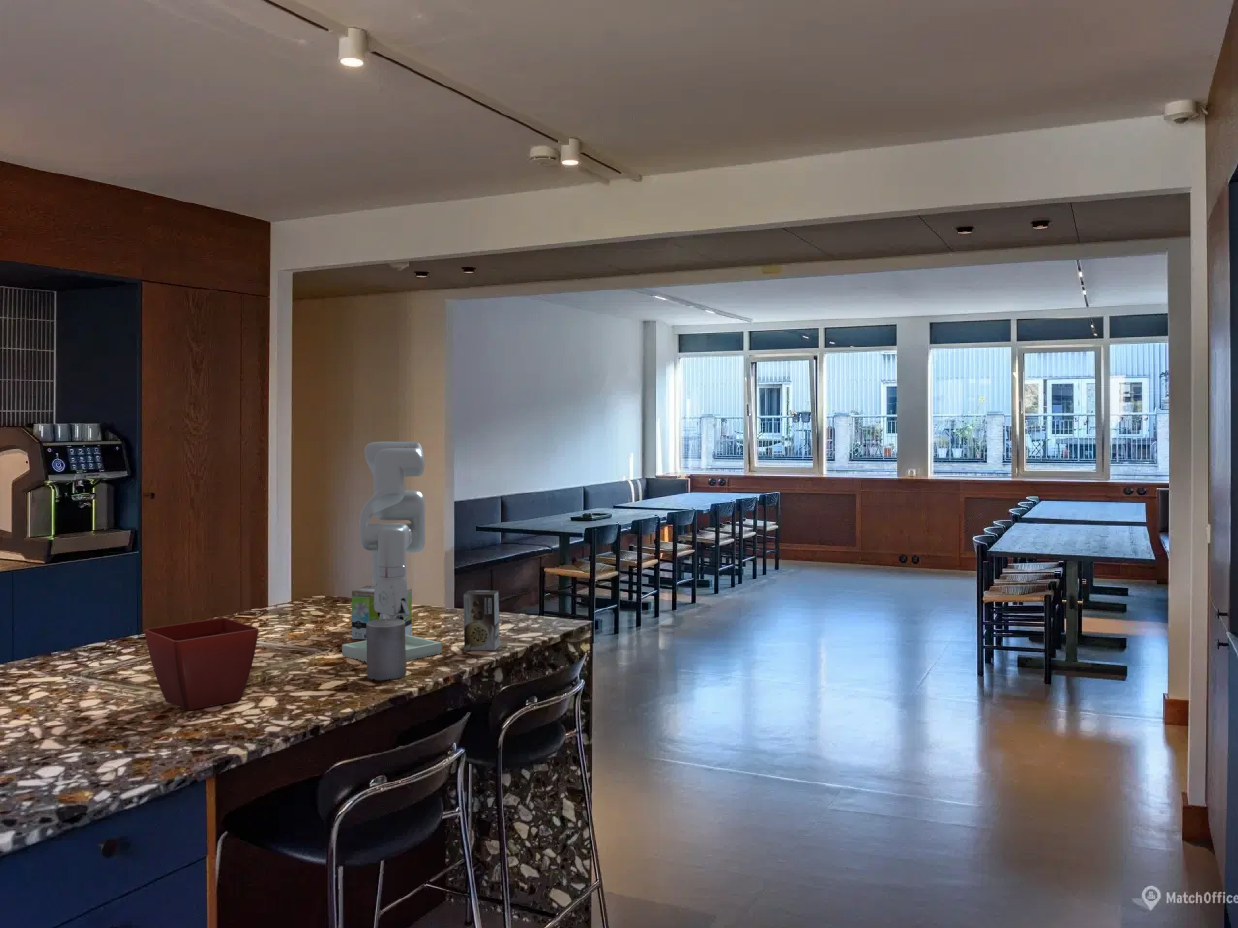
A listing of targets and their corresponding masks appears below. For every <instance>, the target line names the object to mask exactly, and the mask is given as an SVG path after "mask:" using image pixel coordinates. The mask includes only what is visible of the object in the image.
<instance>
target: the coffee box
mask: <svg viewBox="0 0 1238 928" xmlns="http://www.w3.org/2000/svg"><path fill="white" fill-rule="evenodd" d="M463 632H464V633H463V636H464V637H463V640H464V647H463V648H464V649H463V650H464V651H496V650H497V649H499V648H500V590H485V589H483V590H480V589H478V590H476V589H475V590H474V589H470V590H469V589H468V591H466V592H465V593H464V594H463Z"/></svg>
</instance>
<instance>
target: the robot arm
mask: <svg viewBox="0 0 1238 928" xmlns="http://www.w3.org/2000/svg"><path fill="white" fill-rule="evenodd" d="M364 458H365V462H366V464H367V466H368V468H369V469H370V472H371V475H372V479H373V481H372V482H373V483H372V484H373V488H372V489H373V490H372V491H373V493H372V494H373V495H372V496H371V497H370V498H369V499H368V500H367V501H366V502H365V504H364V505H363V507H362V509H361V511H360V513H359V519H358V520H359V523H358V525H359V526H358V531H359V533H358V535H359V536H358V539H359V544H360V547H361V548H362V550H364V551H368V552H370V554H371V555H370V556H371V574H372V575H371V586H375V593H374V610H375V611H376V612H377V614H378V616H379V619H383V614H387V615H393V618H394V619H398V617H397V616H400V618H399V619H401V620H404V621H406V620H407V618H408V617H409V616H410V612H409V610H408V588H409V587H408V582H407V574H406V573H407V572H406V571H407V567H406V566H407V554H409V553H410V554H411V553H413V554H414V553H419V552H421V551H423V550H424V548H425V545H426V501H425V497H424V494H423V493H422V492H420V490H416V489H414V490H413V489H407V490H405V478H406V477H421V476H422V475H423V473H424V472H425V467H426V459H425V454H424V450H423V447H422V445H421V444H420V443H419V442H417V441H373V442H369V443H368V444H366V445H365V447H364ZM373 516H374V517H375V518H377V519H378V520H379V521H409V522H402V523H401V522H400V523H398V522H394V523H393V522H389V523H388V522H387V523H384V522H383V523H370V519H371V518H372V517H373ZM399 611H400V613H399ZM396 613H398V614H396Z"/></svg>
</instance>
